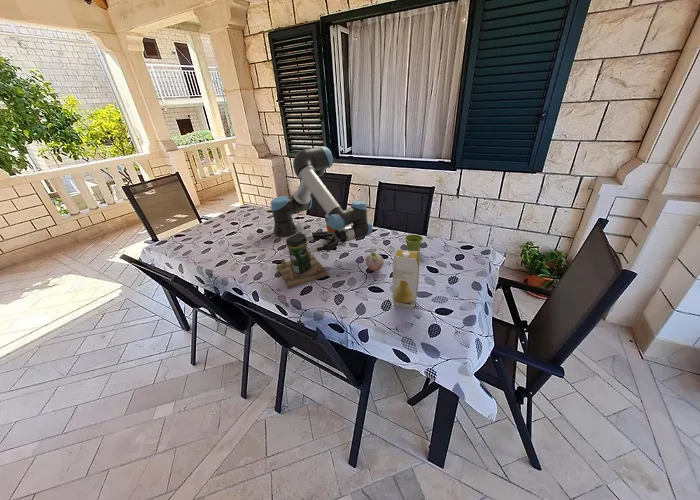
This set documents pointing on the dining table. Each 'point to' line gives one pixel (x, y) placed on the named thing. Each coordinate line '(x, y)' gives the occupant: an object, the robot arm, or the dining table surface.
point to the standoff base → (301, 278)
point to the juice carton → (405, 278)
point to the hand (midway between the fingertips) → (305, 245)
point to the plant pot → (413, 242)
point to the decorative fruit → (374, 261)
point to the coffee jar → (298, 253)
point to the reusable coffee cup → (328, 224)
